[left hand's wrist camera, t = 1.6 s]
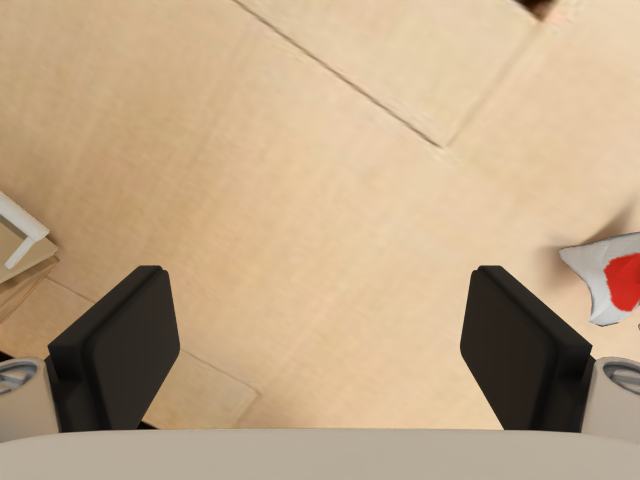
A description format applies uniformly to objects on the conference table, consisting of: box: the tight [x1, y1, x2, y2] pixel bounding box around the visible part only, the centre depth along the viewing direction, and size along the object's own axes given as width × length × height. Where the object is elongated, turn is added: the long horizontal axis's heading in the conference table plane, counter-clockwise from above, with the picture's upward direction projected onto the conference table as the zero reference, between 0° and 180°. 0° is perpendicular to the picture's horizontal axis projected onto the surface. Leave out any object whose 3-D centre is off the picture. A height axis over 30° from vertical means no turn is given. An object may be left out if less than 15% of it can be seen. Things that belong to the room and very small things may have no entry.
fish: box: [558, 232, 640, 329], centre depth 37 cm, size 11×16×10 cm
